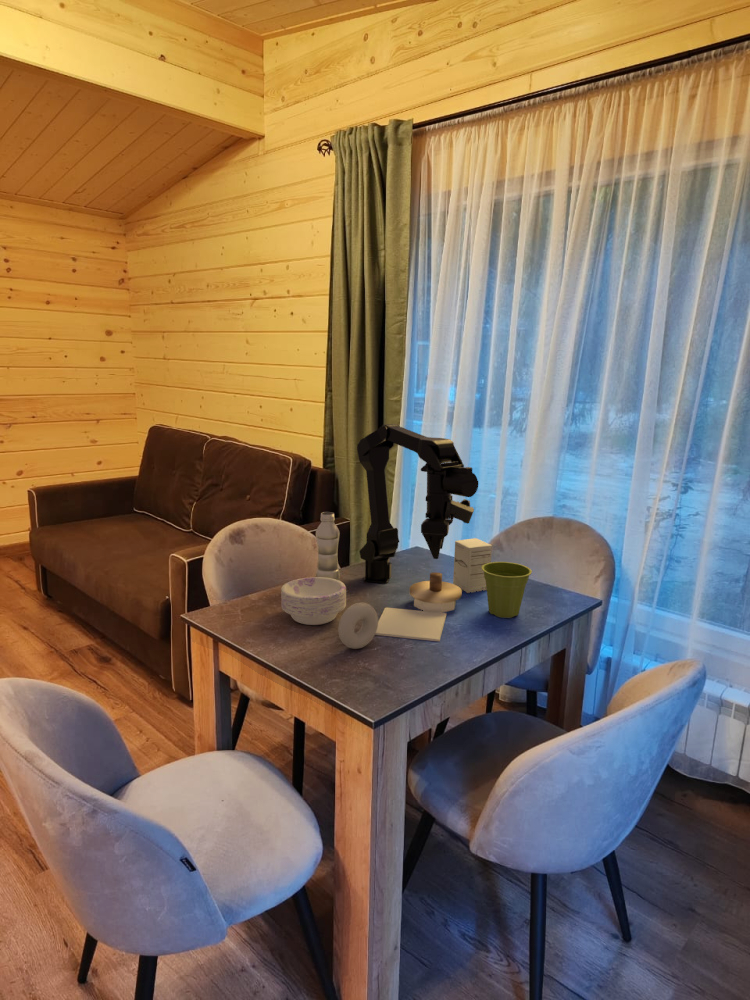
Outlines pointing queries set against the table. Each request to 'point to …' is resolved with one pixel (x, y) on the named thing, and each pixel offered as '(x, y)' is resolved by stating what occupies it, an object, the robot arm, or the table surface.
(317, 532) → the plastic bottle
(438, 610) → the dish
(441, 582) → the lid
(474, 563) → the supplement box
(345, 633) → the donut
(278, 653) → the table surface
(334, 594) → the paper bowls
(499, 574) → the plant pot
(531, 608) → the table surface
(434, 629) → the mat
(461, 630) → the table surface
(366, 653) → the table surface
